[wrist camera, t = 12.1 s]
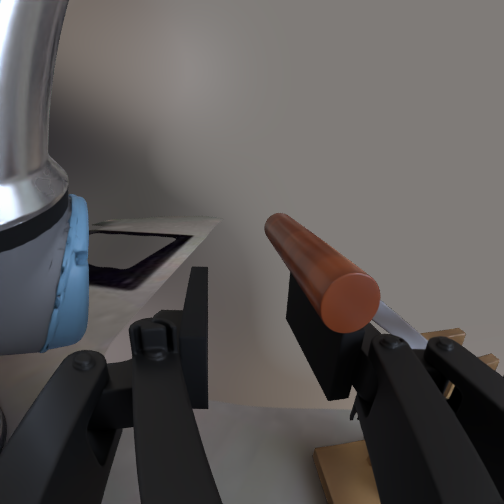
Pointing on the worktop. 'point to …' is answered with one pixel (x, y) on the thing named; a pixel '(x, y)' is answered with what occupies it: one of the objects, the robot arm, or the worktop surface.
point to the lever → (335, 283)
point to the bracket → (365, 453)
